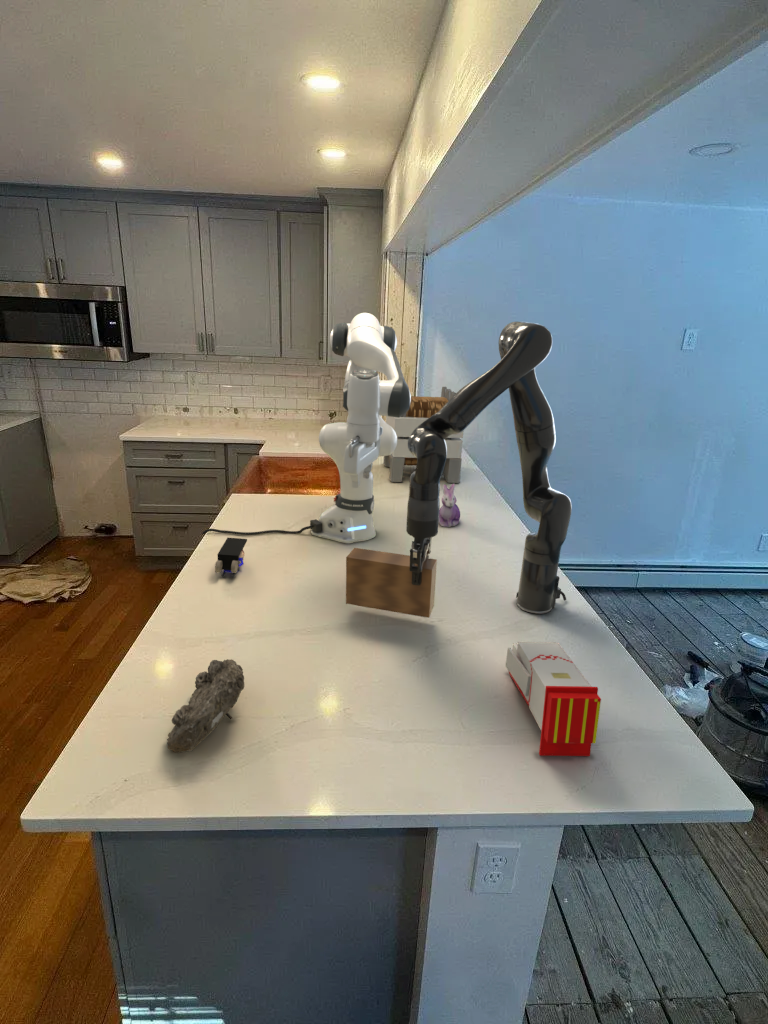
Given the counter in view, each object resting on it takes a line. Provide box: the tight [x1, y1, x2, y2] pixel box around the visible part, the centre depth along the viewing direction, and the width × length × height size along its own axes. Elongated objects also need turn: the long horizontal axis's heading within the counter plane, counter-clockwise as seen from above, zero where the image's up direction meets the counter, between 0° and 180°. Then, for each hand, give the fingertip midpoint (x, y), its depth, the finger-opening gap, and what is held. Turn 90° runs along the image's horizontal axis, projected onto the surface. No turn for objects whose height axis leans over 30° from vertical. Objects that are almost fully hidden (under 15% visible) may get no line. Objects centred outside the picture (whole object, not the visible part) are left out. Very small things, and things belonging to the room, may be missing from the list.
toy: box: [505, 641, 602, 757], centre depth 113 cm, size 12×13×30 cm
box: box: [345, 547, 438, 619], centre depth 141 cm, size 22×6×13 cm, turn 74°
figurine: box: [439, 483, 461, 528], centre depth 209 cm, size 9×10×15 cm
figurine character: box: [214, 537, 248, 578], centre depth 166 cm, size 7×8×15 cm
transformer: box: [383, 386, 465, 484], centre depth 268 cm, size 34×33×41 cm
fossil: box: [166, 658, 245, 754], centre depth 106 cm, size 22×10×15 cm
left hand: (361, 482), depth 156 cm, fingers open, 8 cm apart
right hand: (419, 578), depth 139 cm, fingers closed on box, 6 cm apart
